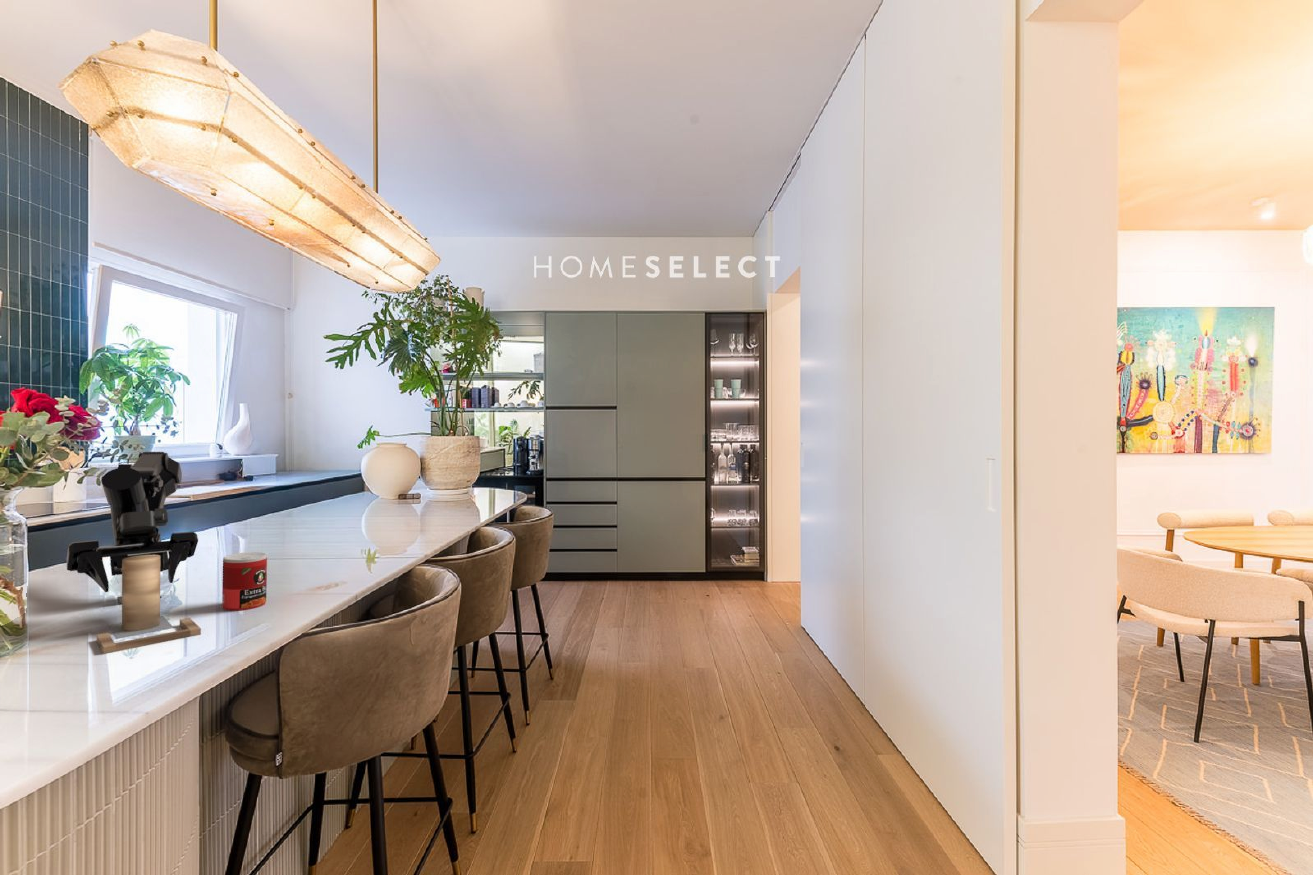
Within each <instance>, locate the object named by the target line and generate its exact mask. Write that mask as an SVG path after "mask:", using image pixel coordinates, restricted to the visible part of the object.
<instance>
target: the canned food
mask: <svg viewBox="0 0 1313 875" xmlns="http://www.w3.org/2000/svg"><path fill="white" fill-rule="evenodd" d="M267 555H268V554H267V553H266V552H262V551H261V552H258V551H253V552H250V551H249V552H248V551H247V552H239V553H238V552H237V553H232V554H227V555H226V556H224V557H223V558H222V596H221V600H222V602H221V603H222V604H221V605H222V606H221V607H222V609H224V610H225V611H233V612H235V611H236V612H237V611H249V610H252V609H257V608H260V607H263V606H264V605H266V603H267V584H268V583H267V582H268V580H267V578H268V556H267Z"/></svg>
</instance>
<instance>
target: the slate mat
mask: <svg viewBox="0 0 1313 875" xmlns="http://www.w3.org/2000/svg"><path fill="white" fill-rule="evenodd" d="M108 627H109V629H110V630H111V632H112V635H113V636H114V637H115V638H116V639H123V638H129V637H134V636H139V635H144V634H149V633H155V632H160V631H165V630H170V629H175V627H174V626H173V625H172V623H170V621H168V620H167V619H166V617H165V616H164V615H160V624H159V625H158V626H156V627H153V628H150V629H145V630H140V631H123V630H122V622H118V623H113V624H109V625H108Z"/></svg>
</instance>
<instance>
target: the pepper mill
mask: <svg viewBox="0 0 1313 875" xmlns="http://www.w3.org/2000/svg"><path fill="white" fill-rule="evenodd" d="M121 579H122V580H121V596H122V604H121V623H122V630H123V631H140V630H145V629H150V628H153V627H156V626H158V625H159V624H160V616H161V598H160V596H161V572H160V555H140V556H133V557H128V558H124V559H122V575H121Z"/></svg>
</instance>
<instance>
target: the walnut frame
mask: <svg viewBox="0 0 1313 875" xmlns="http://www.w3.org/2000/svg"><path fill="white" fill-rule="evenodd" d="M179 626H180V627H181V630H177V631H171V632H167V633H160V634H156V635H149V636H145V637H140V638H133V639H130V640H125V641H119V642H115V641H114V640H113V638H112V636H111V634H110V633H109V632H103V633H97V634H96V643H97V645H98V646H99V648H100V650H101V652H102V654H103V655H107V654H111V653H116V652H120V651H126V650H130V649H137V648H141V647H146V646H152V645H156V644H157V645H158V644H161V643H167V642H172V641H176V640H182V639H186V638H191V637H196V636H200V635H201V634H202V628H201V627H200V626H199V625H198V624H196V622H195V621H194V620H193V619H192V618H190V617H186V618H185V617H184V618H180V619H179Z"/></svg>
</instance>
